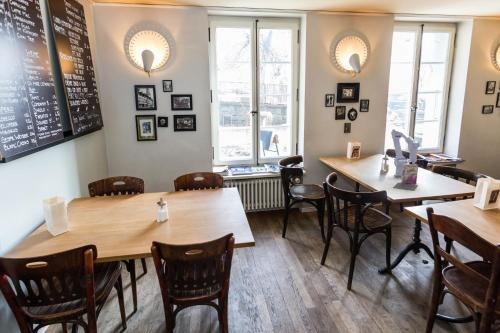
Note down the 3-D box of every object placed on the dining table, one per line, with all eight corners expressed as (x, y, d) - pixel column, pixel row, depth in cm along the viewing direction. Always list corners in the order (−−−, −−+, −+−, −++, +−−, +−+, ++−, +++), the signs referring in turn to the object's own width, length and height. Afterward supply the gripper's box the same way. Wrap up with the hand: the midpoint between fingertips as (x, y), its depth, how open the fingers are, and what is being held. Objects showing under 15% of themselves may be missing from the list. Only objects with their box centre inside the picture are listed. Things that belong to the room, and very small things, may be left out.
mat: (397, 182, 278) (397, 182, 278) (418, 185, 269) (418, 185, 268) (393, 187, 265) (393, 187, 265) (414, 190, 256) (414, 190, 256)
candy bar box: (403, 183, 275) (404, 165, 271) (401, 182, 280) (402, 163, 276) (416, 183, 274) (418, 165, 270) (414, 182, 279) (416, 163, 275)
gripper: (407, 153, 287) (406, 167, 290) (409, 156, 273) (407, 171, 277) (416, 153, 284) (414, 168, 287) (418, 156, 271) (416, 172, 274)
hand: (411, 170), depth 282 cm, fingers closed
